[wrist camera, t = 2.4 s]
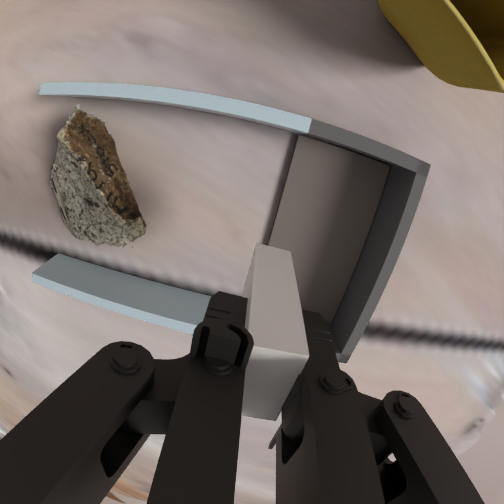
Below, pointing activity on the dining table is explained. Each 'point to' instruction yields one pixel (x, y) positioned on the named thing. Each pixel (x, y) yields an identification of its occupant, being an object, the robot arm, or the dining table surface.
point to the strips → (124, 285)
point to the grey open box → (345, 224)
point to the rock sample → (93, 184)
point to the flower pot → (454, 38)
